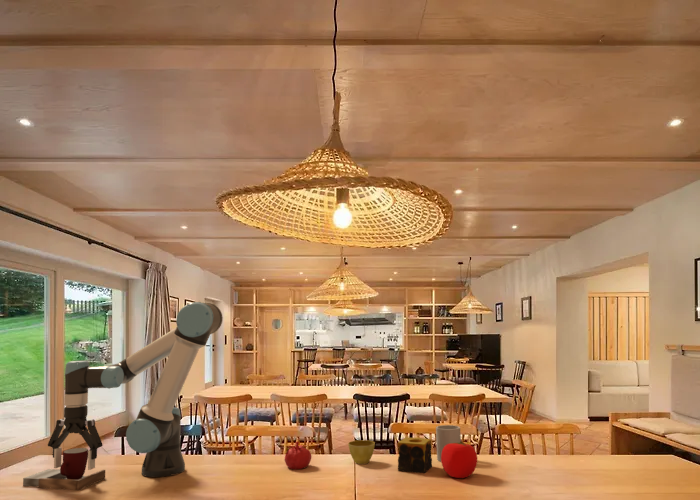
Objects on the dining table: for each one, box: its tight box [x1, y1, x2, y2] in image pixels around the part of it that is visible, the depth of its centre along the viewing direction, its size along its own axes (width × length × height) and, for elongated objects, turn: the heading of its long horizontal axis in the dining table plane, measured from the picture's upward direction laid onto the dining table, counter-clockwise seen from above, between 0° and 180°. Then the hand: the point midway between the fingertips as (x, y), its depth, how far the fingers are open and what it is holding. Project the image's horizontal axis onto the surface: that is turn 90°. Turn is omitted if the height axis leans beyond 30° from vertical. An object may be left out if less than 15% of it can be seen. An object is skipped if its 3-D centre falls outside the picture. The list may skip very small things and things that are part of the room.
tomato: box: [441, 440, 478, 479], centre depth 203 cm, size 12×14×11 cm
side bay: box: [22, 468, 106, 491], centre depth 206 cm, size 23×14×3 cm, turn 76°
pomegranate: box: [284, 441, 313, 470], centre depth 220 cm, size 10×10×9 cm
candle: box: [397, 436, 433, 474], centre depth 214 cm, size 10×10×10 cm
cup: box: [435, 424, 462, 463], centre depth 226 cm, size 9×9×12 cm
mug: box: [59, 447, 89, 480], centre depth 206 cm, size 11×8×10 cm
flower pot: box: [347, 439, 376, 465], centre depth 224 cm, size 10×10×7 cm
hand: (74, 468), depth 206 cm, fingers open, 13 cm apart
